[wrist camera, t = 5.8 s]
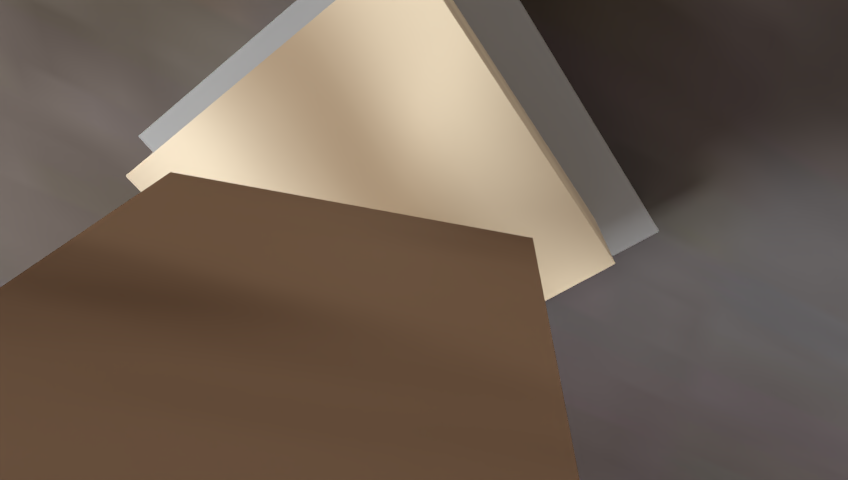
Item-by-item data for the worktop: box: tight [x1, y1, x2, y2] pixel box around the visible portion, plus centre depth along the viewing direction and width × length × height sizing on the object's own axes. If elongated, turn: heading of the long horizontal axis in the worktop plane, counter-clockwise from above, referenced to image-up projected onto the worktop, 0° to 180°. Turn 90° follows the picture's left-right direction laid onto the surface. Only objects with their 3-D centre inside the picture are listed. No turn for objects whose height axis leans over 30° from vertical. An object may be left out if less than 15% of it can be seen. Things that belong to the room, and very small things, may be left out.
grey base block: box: [139, 0, 659, 256], centre depth 16 cm, size 10×10×2 cm
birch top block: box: [126, 0, 615, 301], centre depth 14 cm, size 8×8×2 cm
